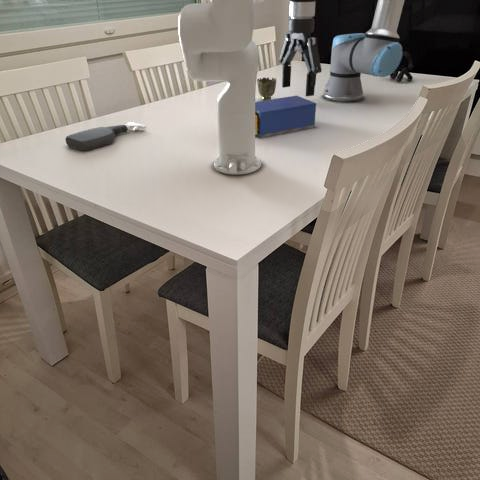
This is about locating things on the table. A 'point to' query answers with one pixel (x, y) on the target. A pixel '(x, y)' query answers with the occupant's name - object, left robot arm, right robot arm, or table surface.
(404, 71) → the squiggle
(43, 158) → the table surface
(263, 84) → the cup
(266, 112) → the blue box
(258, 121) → the drawer
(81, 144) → the spray bottle
